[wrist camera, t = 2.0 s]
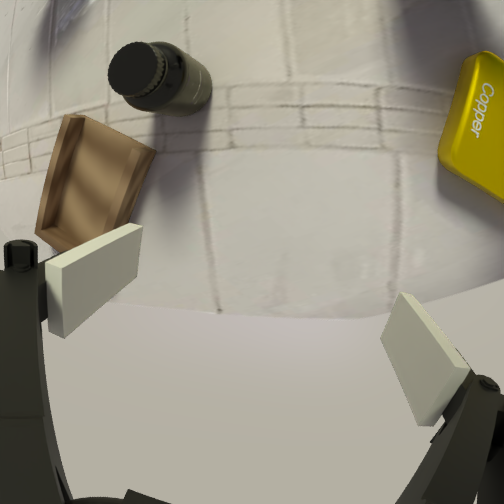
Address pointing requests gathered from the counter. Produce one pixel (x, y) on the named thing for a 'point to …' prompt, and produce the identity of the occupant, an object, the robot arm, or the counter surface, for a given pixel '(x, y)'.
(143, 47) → the supplement bottle
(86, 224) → the u rest
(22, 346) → the robot arm
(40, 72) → the counter surface
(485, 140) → the element tile
